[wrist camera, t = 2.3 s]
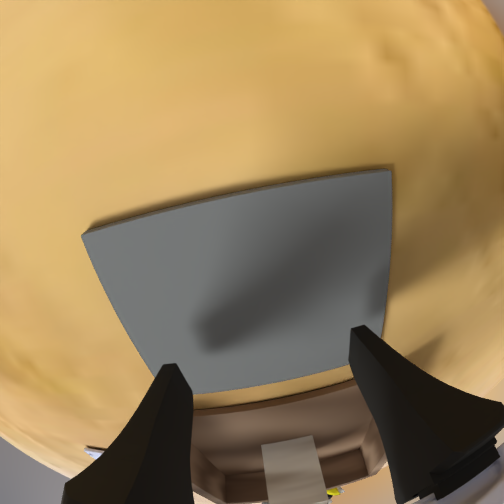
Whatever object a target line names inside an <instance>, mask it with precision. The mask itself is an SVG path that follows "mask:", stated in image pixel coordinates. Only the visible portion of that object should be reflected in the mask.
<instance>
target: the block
mask: <svg viewBox="0 0 504 504" xmlns="http://www.w3.org/2000/svg"><path fill="white" fill-rule="evenodd" d="M261 448H262V455H263V463H264V470H265V478H266V485H267V492H268V499H269V504H327V503H328V500H329V499H328V495H327V491H326V487H325V483H324V479H323V475H322V471H321V467H320V463H319V459H318V455H317V451H316V447H315V444H314V440H313V436H312V435H310V436H306V437H301V438H297V439H292V440H287V441H282V442H276V443H271V444H264V445H261Z"/></svg>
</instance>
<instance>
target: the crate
mask: <svg viewBox="0 0 504 504" xmlns="http://www.w3.org/2000/svg"><path fill="white" fill-rule="evenodd" d="M310 435H312V436H313V440H314V444H315V447H316V451H317V455H318V459H319V463H320V467H321V471H322V475H323V479H324V483H325V487H326V490H329V489H333V488H336V487H340V486H343V485H347V484H350V483H353V482H356V481H359V480H362V479H365V478H367V477H370V476H373V475H376V474H377V473H378V471H379V470H380V469H381V468H382V467H383V465H384V464H385V463H386V462H387V457H386V453H385V450H384V446H383V443H382V440H381V437H380V434H379V431H378V428H377V425H376V423H375V420H374V418H373V416H372V414H371V412H370V410H369V408H368V406H367V404H366V402H365V400H364V397H363V395H362V393H361V391H360V389H359V387H358V385H357V383H356V381H355V379H354V380H350V381H347V382H344V383H340V384H337V385H333V386H330V387H326V388H322V389H319V390H315V391H311V392H307V393H302V394H298V395H294V396H289V397H284V398H279V399H274V400H269V401H263V402H258V403H251V404H245V405H238V406H231V407H222V408H213V409H203V410H193V425H192V438H191V451H190V468H191V481H192V490H193V491H194V492H196V493H197V494H199V495H201V496H203V497H205V498H207V499H208V500H210V501H212V502H214V503H216V504H250V503H260V502H268V501H269V499H268V492H267V485H266V478H265V470H264V463H263V455H262V448H261V445H264V444H271V443H276V442H282V441H287V440H292V439H297V438H301V437H306V436H310Z"/></svg>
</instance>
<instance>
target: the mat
mask: <svg viewBox="0 0 504 504" xmlns="http://www.w3.org/2000/svg"><path fill="white" fill-rule="evenodd" d="M81 238H82V240H83V243H84V245H85V248H86V250H87V253H88V255H89V257H90V260H91V262H92V264H93V267H94V269H95V271H96V273H97V275H98V278H99V280H100V282H101V284H102V286H103V288H104V290H105V292H106V294H107V296H108V298H109V300H110V302H111V304H112V306H113V308H114V310H115V312H116V314H117V316H118V318H119V319H120V321H121V323H122V325H123V327H124V328H125V330H126V332H127V334H128V335H129V337H130V339H131V341H132V342H133V344H134V346H135V347H136V349H137V351H138V352H139V354H140V356H141V357H142V359H143V360H144V362H145V363H146V365H147V367H148V368H149V370H150V371H151V373H152V374H153V376H154V377H156V375H157V374H158V372H159V370H160V368H161V367H162V365H163V364H171V363H177V365H178V367H179V369H180V370H181V372H182V374H183V376H184V377H185V379H186V381H187V382H188V384H189V386H190V387H191V389H192V391H193V395H194V394H204V393H213V392H221V391H229V390H236V389H242V388H249V387H255V386H260V385H266V384H271V383H276V382H281V381H286V380H290V379H295V378H299V377H304V376H308V375H312V374H316V373H320V372H324V371H327V370H331V369H335V368H338V367H342V366H345V365H348V364H349V361H348V357H349V345H350V331H351V328H354V327H357V326H361V325H366V326H367V327H368V328H369V329H370V330H372V331H373V332H374V333H375V334H376V335H377V336H378V337H380V338H381V333H382V327H383V321H384V314H385V307H386V299H387V291H388V281H389V270H390V257H391V240H392V172H391V171H390V170H387V169H376V170H368V171H360V172H352V173H345V174H338V175H331V176H324V177H317V178H311V179H305V180H299V181H293V182H287V183H281V184H276V185H270V186H265V187H260V188H255V189H249V190H244V191H240V192H235V193H230V194H225V195H221V196H216V197H211V198H207V199H203V200H198V201H194V202H190V203H186V204H181V205H177V206H173V207H169V208H165V209H161V210H157V211H154V212H150V213H146V214H142V215H139V216H135V217H131V218H128V219H124V220H121V221H117V222H114V223H110V224H107V225H104V226H100V227H97V228H94V229H90V230H87V231H85V232H84V233H83V234H82V235H81Z"/></svg>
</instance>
